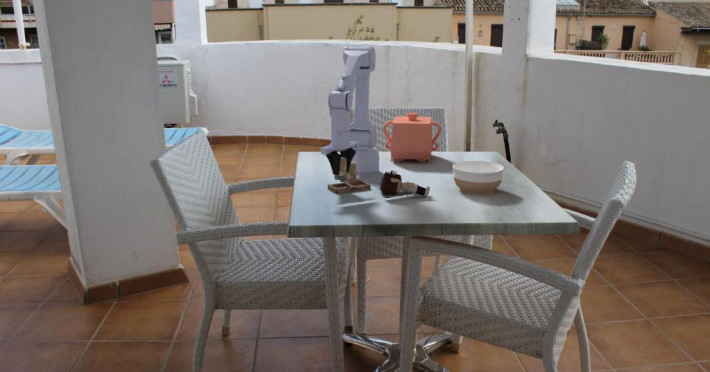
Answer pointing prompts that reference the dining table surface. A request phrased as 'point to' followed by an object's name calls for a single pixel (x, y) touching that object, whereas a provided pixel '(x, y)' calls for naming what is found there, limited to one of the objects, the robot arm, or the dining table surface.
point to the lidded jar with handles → (411, 137)
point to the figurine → (400, 185)
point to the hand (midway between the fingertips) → (340, 173)
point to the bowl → (477, 177)
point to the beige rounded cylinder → (342, 170)
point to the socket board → (349, 187)
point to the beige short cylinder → (352, 173)
